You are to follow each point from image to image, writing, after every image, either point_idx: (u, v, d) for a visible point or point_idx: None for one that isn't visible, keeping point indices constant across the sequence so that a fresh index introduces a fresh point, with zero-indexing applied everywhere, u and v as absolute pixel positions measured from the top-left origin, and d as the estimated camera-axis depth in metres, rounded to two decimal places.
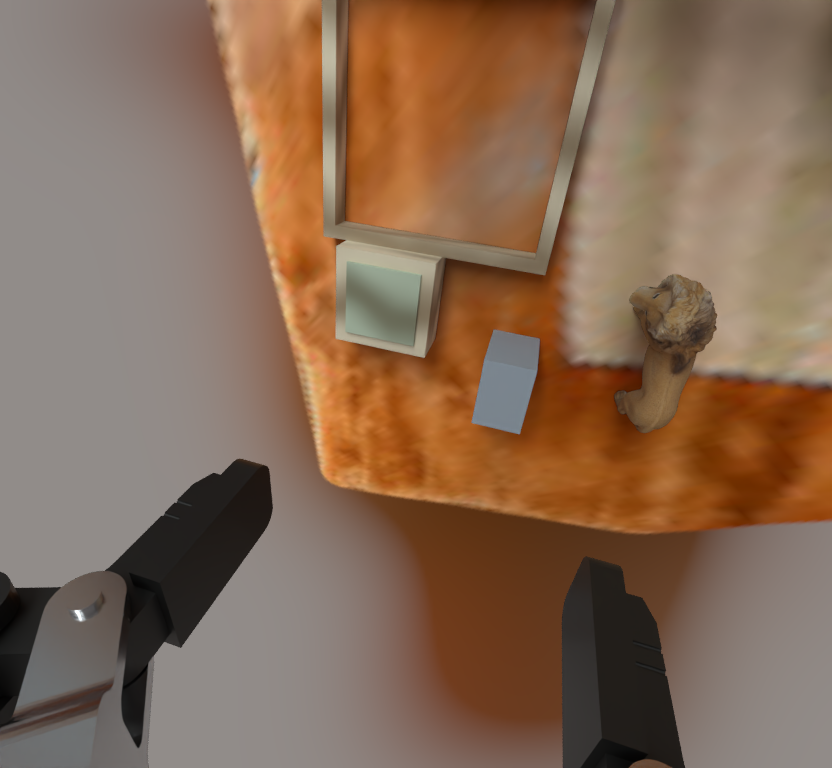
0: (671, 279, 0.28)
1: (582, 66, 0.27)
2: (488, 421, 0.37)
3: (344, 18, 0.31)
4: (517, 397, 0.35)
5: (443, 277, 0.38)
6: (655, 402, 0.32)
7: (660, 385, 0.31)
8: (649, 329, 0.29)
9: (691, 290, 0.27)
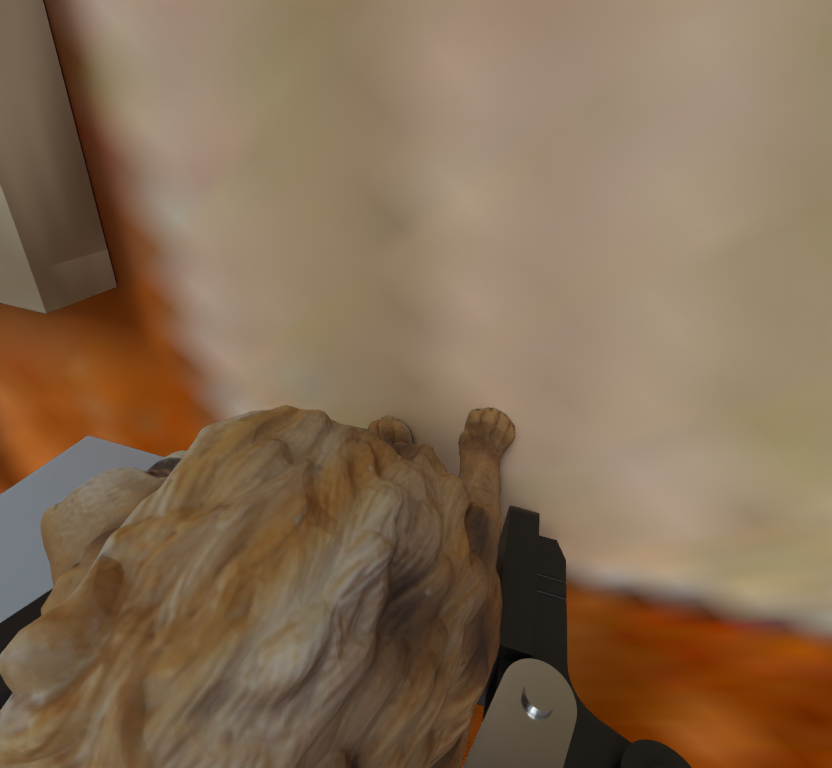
0: None
1: None
2: None
3: None
4: None
5: None
6: None
7: None
8: None
9: (142, 620, 0.03)
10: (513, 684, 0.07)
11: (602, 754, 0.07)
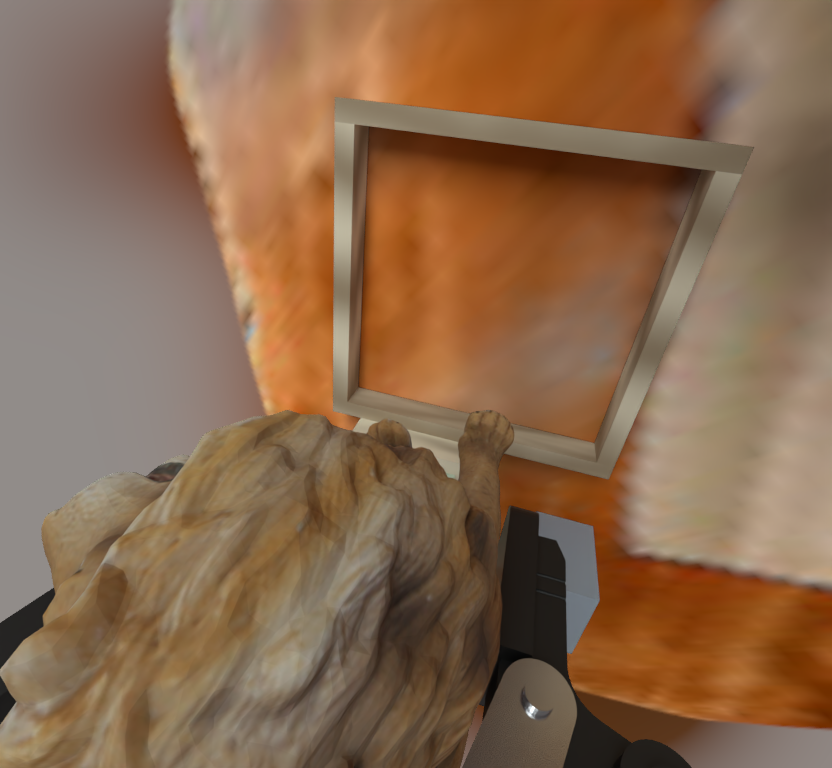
0: None
1: (677, 269, 0.21)
2: None
3: (362, 182, 0.24)
4: (572, 620, 0.29)
5: None
6: None
7: None
8: None
9: (146, 628, 0.03)
10: (513, 684, 0.07)
11: (602, 754, 0.07)
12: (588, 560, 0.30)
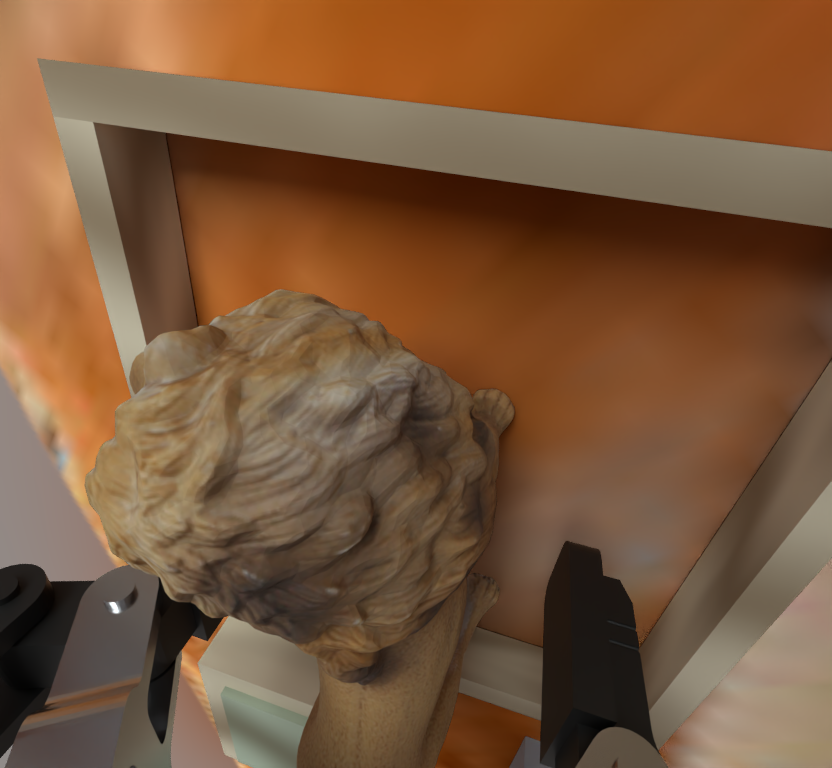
0: None
1: None
2: None
3: (164, 239, 0.12)
4: None
5: None
6: (328, 763, 0.09)
7: (337, 708, 0.09)
8: None
9: (241, 353, 0.05)
10: (602, 760, 0.07)
11: None
12: None
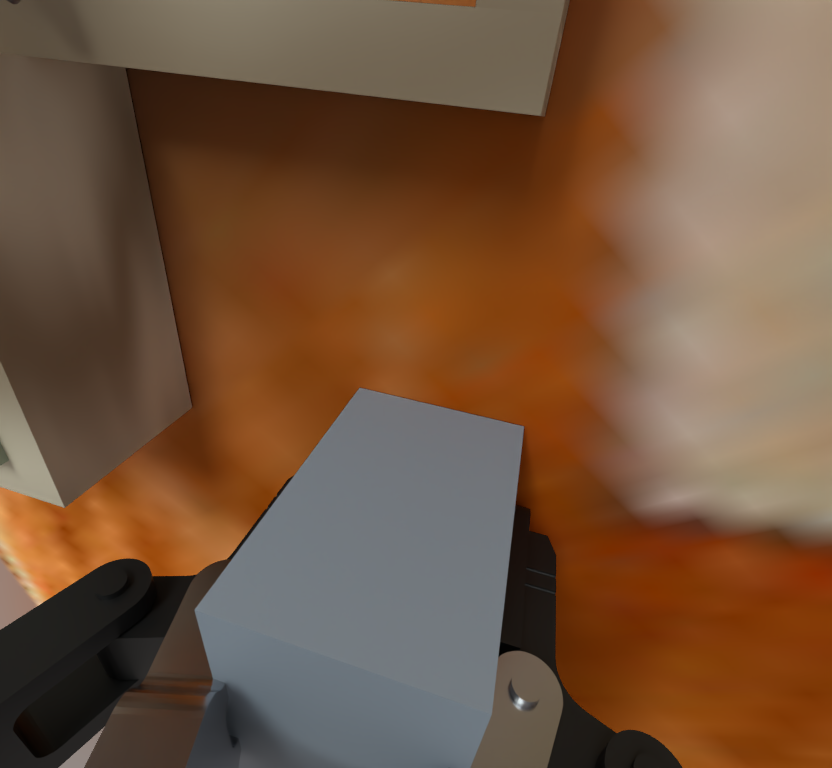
0: None
1: None
2: None
3: None
4: None
5: (148, 191, 0.10)
6: None
7: None
8: None
9: None
10: (500, 676, 0.07)
11: (588, 745, 0.07)
12: (483, 525, 0.08)
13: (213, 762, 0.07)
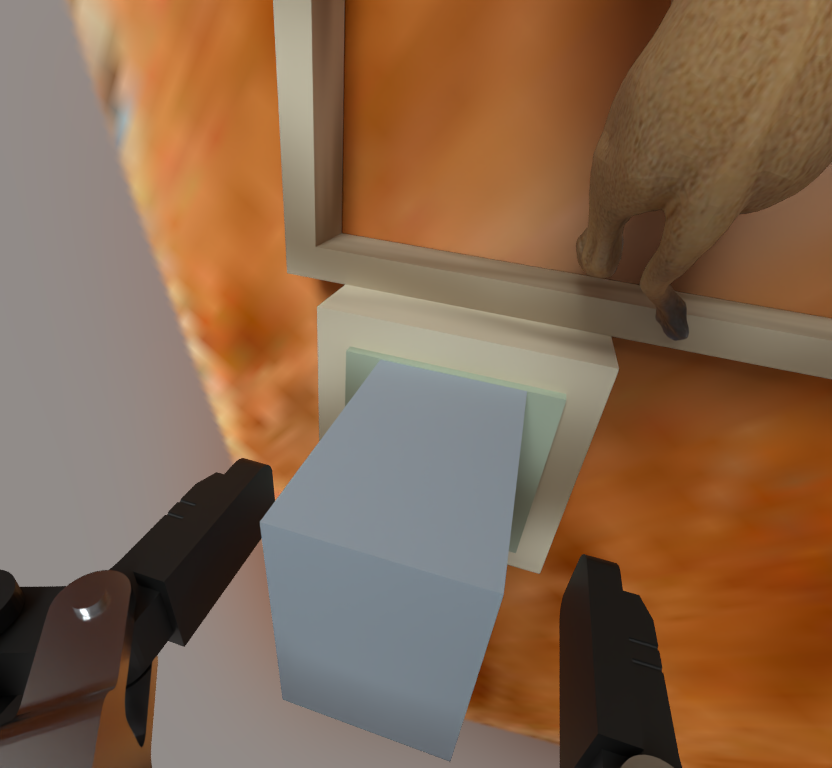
0: None
1: None
2: (334, 707, 0.10)
3: None
4: (427, 666, 0.08)
5: None
6: None
7: None
8: None
9: None
10: None
11: None
12: (493, 465, 0.09)
13: (122, 759, 0.07)
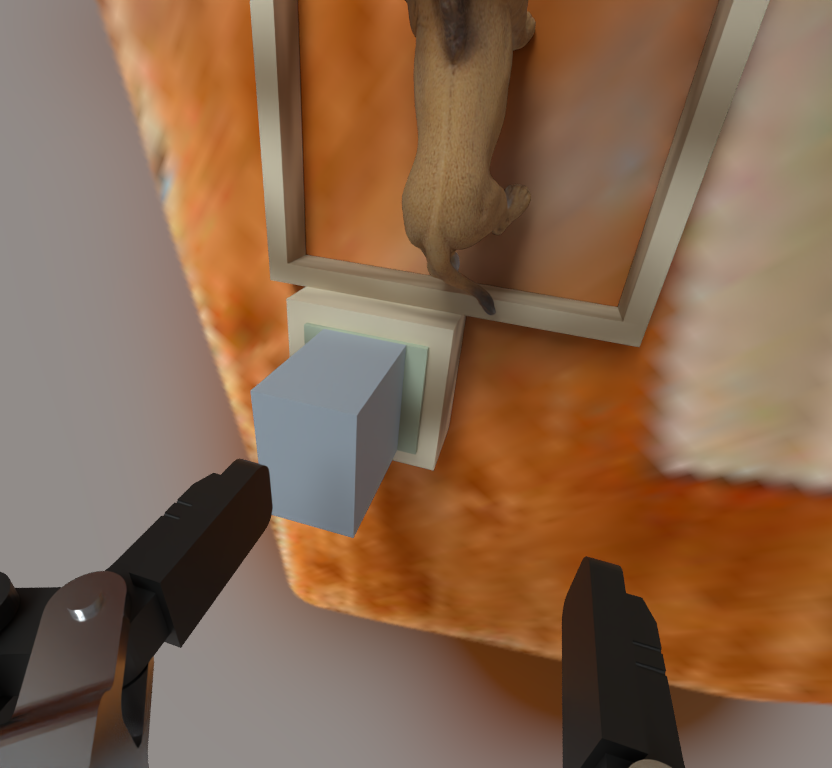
0: None
1: None
2: (291, 511, 0.18)
3: None
4: (332, 468, 0.17)
5: None
6: (429, 154, 0.14)
7: (434, 108, 0.13)
8: None
9: None
10: None
11: None
12: (371, 375, 0.18)
13: (119, 760, 0.07)
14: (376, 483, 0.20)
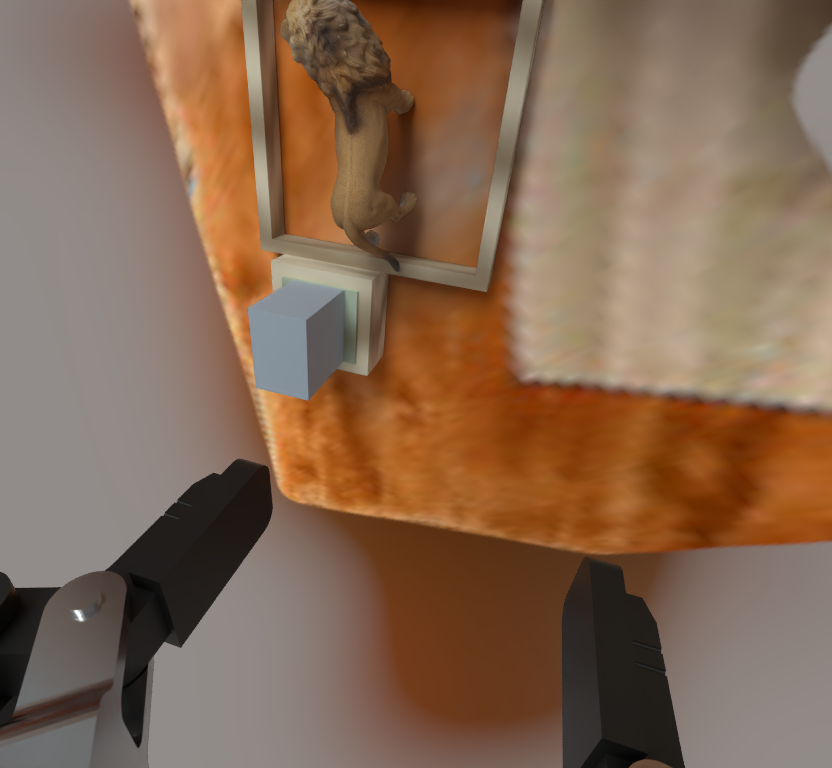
0: None
1: (511, 75, 0.26)
2: (272, 385, 0.31)
3: (268, 24, 0.29)
4: (294, 354, 0.29)
5: (387, 292, 0.37)
6: (341, 179, 0.26)
7: (343, 155, 0.26)
8: None
9: None
10: None
11: None
12: (318, 303, 0.30)
13: (119, 760, 0.07)
14: (325, 375, 0.33)
